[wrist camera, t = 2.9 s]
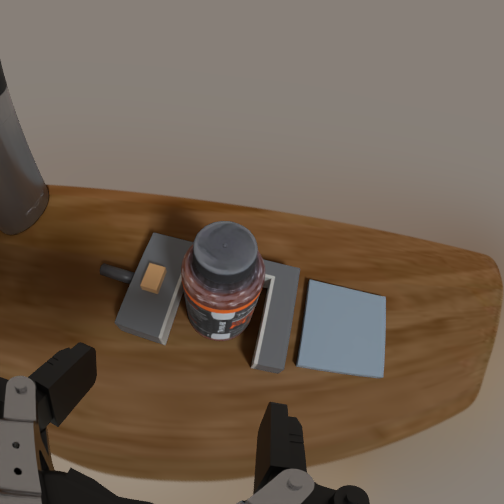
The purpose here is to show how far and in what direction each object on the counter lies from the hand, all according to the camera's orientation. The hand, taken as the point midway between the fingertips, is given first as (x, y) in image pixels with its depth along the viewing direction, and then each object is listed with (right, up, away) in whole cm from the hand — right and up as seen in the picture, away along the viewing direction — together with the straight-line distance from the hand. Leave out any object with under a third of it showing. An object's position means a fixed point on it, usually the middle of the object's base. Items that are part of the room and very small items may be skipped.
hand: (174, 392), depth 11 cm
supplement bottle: (0, 0, +16) cm, 16 cm away
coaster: (+13, -2, +16) cm, 21 cm away
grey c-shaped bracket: (-3, +1, +16) cm, 17 cm away
